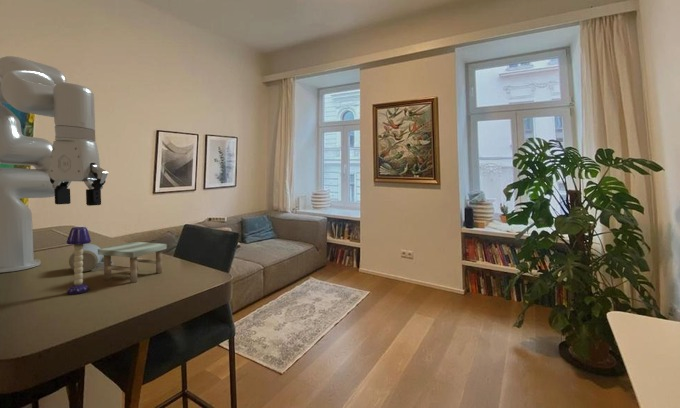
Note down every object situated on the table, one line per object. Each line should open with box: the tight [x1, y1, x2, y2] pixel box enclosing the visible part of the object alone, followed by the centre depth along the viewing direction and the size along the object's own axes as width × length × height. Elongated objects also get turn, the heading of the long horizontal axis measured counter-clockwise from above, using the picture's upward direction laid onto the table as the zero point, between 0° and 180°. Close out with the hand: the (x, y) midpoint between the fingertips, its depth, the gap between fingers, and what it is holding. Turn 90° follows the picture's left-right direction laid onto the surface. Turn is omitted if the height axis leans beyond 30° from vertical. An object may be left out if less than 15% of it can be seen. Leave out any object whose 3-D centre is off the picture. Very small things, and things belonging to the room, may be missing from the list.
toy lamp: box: [66, 226, 92, 295], centre depth 75 cm, size 5×5×17 cm
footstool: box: [98, 241, 168, 284], centre depth 89 cm, size 12×12×9 cm
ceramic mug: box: [68, 243, 114, 273], centre depth 95 cm, size 11×8×8 cm
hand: (78, 204), depth 74 cm, fingers open, 9 cm apart
